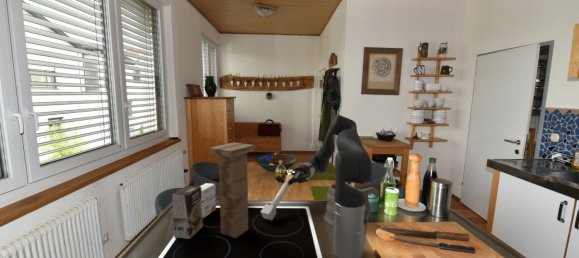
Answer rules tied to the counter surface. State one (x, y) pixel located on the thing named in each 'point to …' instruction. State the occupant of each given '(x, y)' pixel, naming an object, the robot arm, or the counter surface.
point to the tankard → (331, 202)
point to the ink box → (208, 199)
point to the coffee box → (187, 211)
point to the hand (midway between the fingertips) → (285, 181)
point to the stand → (233, 187)
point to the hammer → (276, 200)
